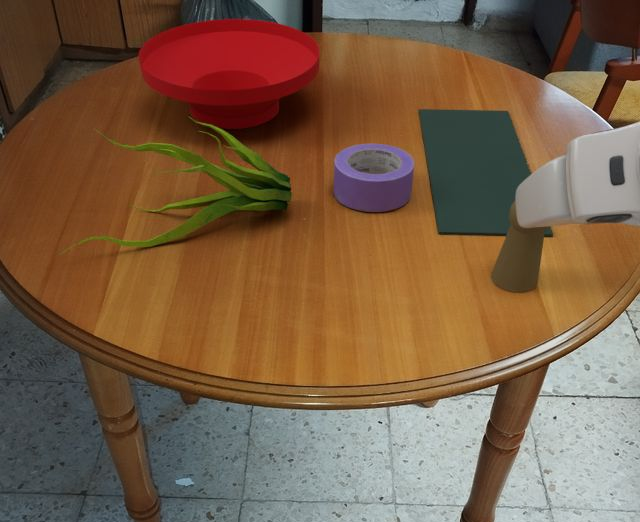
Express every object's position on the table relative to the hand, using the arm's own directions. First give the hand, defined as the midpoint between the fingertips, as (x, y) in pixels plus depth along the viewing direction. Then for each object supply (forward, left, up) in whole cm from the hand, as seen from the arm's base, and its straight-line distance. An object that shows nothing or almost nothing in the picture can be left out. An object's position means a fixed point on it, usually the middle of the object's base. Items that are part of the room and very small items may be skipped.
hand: (590, 216), depth 68 cm
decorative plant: (+46, -21, -17) cm, 53 cm away
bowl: (+44, -61, -17) cm, 77 cm away
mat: (+3, -42, -16) cm, 45 cm away
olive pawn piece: (+2, -12, -17) cm, 21 cm away
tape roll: (+20, -33, -17) cm, 42 cm away
